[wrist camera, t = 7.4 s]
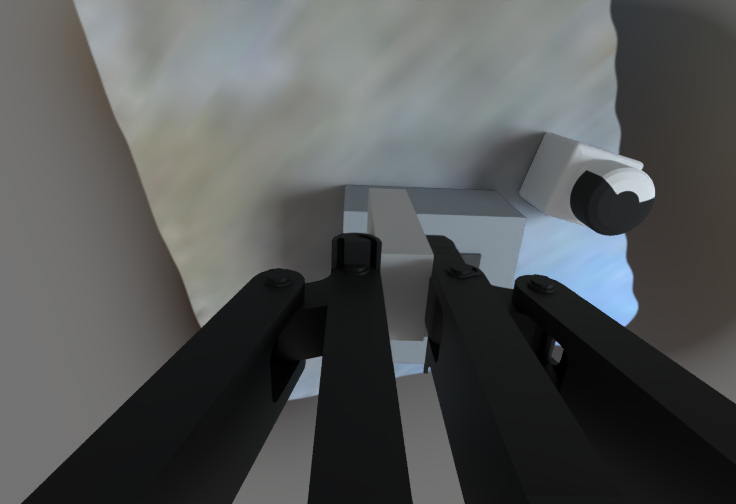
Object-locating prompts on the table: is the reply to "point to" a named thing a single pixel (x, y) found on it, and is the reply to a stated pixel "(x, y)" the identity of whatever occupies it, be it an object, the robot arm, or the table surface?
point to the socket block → (453, 236)
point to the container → (588, 186)
